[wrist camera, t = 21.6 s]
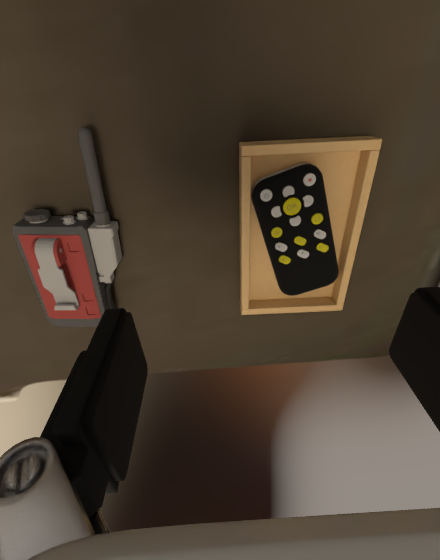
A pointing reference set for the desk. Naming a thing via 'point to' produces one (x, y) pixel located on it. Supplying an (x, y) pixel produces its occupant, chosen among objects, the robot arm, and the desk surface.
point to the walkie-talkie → (72, 254)
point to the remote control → (296, 228)
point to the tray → (341, 204)
